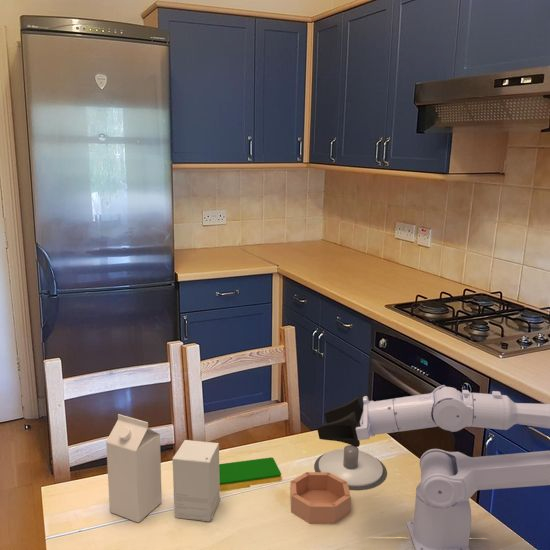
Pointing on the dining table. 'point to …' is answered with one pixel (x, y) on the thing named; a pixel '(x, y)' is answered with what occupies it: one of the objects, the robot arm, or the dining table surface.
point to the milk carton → (133, 468)
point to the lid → (352, 466)
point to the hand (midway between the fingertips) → (322, 425)
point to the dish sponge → (248, 473)
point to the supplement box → (196, 480)
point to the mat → (384, 475)
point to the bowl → (320, 498)
